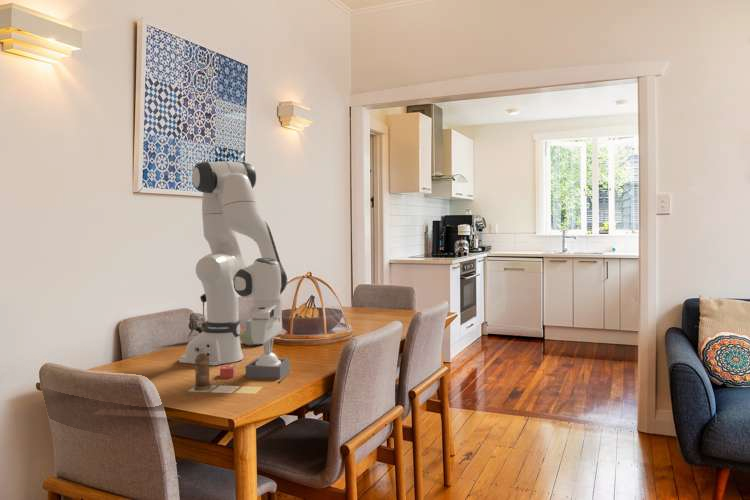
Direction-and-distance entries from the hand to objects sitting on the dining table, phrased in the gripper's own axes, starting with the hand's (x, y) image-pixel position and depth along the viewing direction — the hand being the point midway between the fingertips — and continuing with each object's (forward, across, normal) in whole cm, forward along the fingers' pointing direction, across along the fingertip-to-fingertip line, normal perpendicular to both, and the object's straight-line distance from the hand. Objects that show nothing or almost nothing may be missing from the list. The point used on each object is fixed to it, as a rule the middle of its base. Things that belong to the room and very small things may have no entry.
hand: (268, 352), depth 180 cm
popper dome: (+6, 0, 0) cm, 6 cm away
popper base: (+8, 0, 0) cm, 8 cm away
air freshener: (+8, -49, -22) cm, 55 cm away
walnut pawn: (+7, +18, -14) cm, 24 cm away
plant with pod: (+8, -52, -46) cm, 70 cm away
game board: (+8, +18, -7) cm, 21 cm away
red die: (+8, +4, -12) cm, 15 cm away
